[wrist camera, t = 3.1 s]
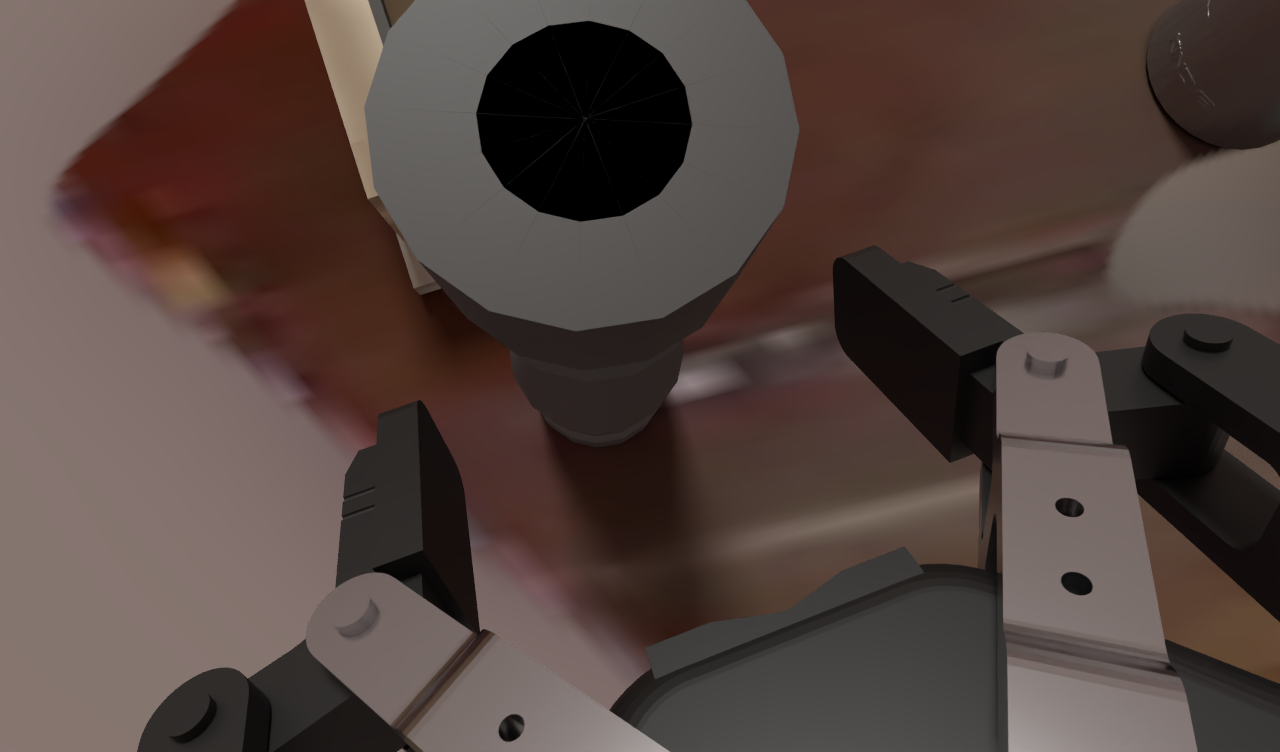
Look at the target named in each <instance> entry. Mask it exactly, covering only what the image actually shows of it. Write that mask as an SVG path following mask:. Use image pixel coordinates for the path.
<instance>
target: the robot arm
mask: <svg viewBox="0 0 1280 752" xmlns="http://www.w3.org/2000/svg"><path fill="white" fill-rule="evenodd" d="M1147 66H1148V73H1149V79H1150V82H1151V84H1152V87H1153V90H1154V93H1155V95H1156V97H1157V98H1158V100H1159V102H1160V103H1161V105H1162V106H1163V108H1164V110H1165V111H1166V112H1167V113H1168V114H1169V115H1170V116H1171V117H1172V119H1173V120H1174V121H1175V122H1176V123H1177V124H1178V125H1180V126H1181V127H1182V128H1183V129H1185V130H1186V131H1187V132H1189V133H1190V134H1191V135H1193V136H1195V137H1197V138H1199V139H1201V140H1203V141H1205V142H1207V143H1210V144H1213V145H1216V146H1220V147H1223V148H1230V149H1241V150H1244V149H1252V148H1260V147H1262V146H1265V145H1268V144H1271V143H1274V142H1276V141H1278V140H1280V0H1180V1H1179V2H1178V3H1177V4H1175V5H1174V6H1173V7H1172V8H1171V9H1170V10H1169V11H1168V12H1167V13H1166V14H1164V15H1163V16H1162V17H1161V19H1160V20H1159V22H1158V23H1157V25H1156V27H1155V28H1154V30H1153V32H1152V35H1151V38H1150V41H1149V44H1148V53H1147ZM833 288H834V313H835V329H836V334H837V337H838V340H839V342H840V345H841V347H842V349H843V350H844V352H845V353H846V355H847V356H848V357H849V358H850V359H851V360H852V361H853V362H854V363H855V364H856V365H857V366H858V367H859V369H860V370H861V371H862V372H863V373H864V374H865V375H866V376H867V377H868V378H869V379H870V380H871V381H872V382H873V383H874V384H875V385H876V386H877V387H878V388H879V389H880V390H881V391H882V393H883V394H884V395H885V396H886V397H887V398H888V399H889V400H890V401H891V402H892V403H893V404H894V405H895V406H896V407H897V408H898V409H899V410H900V411H901V412H902V413H903V414H904V416H905V417H906V418H907V419H908V420H909V421H910V422H911V423H912V424H913V425H914V426H915V427H916V428H917V429H918V430H919V431H920V432H921V433H922V434H923V435H924V436H925V437H926V438H927V440H928V441H929V442H930V443H931V444H932V445H933V446H934V447H935V448H936V449H937V450H938V451H939V452H940V453H941V454H942V455H943V456H944V457H945V458H946V459H947V460H948V461H949V462H950V463H951V462H954V461H956V460H959V459H962V458H964V457H967V456H969V455H972V454H975V455H976V456H977V457H978V458H979V459H980V460H981V461H982V463H981V470H980V494H979V544H978V567H977V568H974V567H968V566H963V565H952V564H923V565H918V563H917V562H916V561H915V560H914V558H913V557H912V556H911V554H910V553H909V552H908V550H907V549H906V548H905V547H902V548H899V549H897V550H894V551H891V552H889V553H886V554H884V555H881V556H879V557H876V558H874V559H871V560H868V561H866V562H863V563H861V564H858V565H856V566H853V567H850V568H848V569H845V570H843V571H841V572H840V573H839V574H837V575H836V576H834V577H833V578H832V579H830V580H829V581H828V582H826V583H825V584H823V585H822V586H821V587H819V588H818V589H817V590H815V591H814V592H812V593H811V594H810V595H808V596H807V597H806V598H804V599H803V600H801V601H800V602H799V603H797V604H796V605H795V606H793V607H792V608H790V609H788V610H786V611H784V612H780V613H774V614H767V615H760V616H752V617H745V618H738V619H730V620H723V621H716V622H710V623H707V624H705V625H702V626H700V627H697V628H694V629H692V630H689V631H687V632H684V633H682V634H679V635H677V636H674V637H671V638H669V639H666V640H664V641H661V642H659V643H656V644H654V645H651V646H648V647H646V648H645V650H646V653H647V656H648V659H649V662H650V665H651V669H650V670H649V671H647V672H646V673H645V674H643V675H642V676H641V677H639V678H638V679H637V680H636V681H635V682H634V683H633V684H632V685H631V686H630V687H629V688H627V689H626V690H625V692H624V693H623V694H622V695H621V696H620V697H619V698H618V700H617V701H616V702H615V703H614V705H613V706H612V707H611V709H610V710H607V709H606V708H604V707H603V706H602V705H600V704H599V703H597V702H596V701H594V700H593V699H591V698H590V697H588V696H587V695H585V694H584V693H582V692H581V691H579V690H578V689H576V688H575V687H574V686H572V685H571V684H569V683H568V682H566V681H565V680H563V679H562V678H560V677H559V676H557V675H556V674H554V673H553V672H551V671H550V670H548V669H547V668H545V667H544V666H542V665H541V664H540V663H538V662H536V661H535V660H534V659H532V658H531V657H529V656H528V655H526V654H525V653H523V652H522V651H520V650H519V649H517V648H516V647H514V646H513V645H511V644H510V643H508V642H507V641H505V640H504V639H503V638H501V637H499V636H498V635H496V634H495V633H492V632H491V631H488V630H485V629H483V630H482V631H481V632H480V628H479V619H478V610H477V601H476V592H475V584H474V574H473V565H472V556H471V547H470V538H469V529H468V521H467V512H466V503H465V494H464V488H463V483H462V479H461V476H460V473H459V470H458V468H457V465H456V463H455V461H454V459H453V457H452V455H451V453H450V451H449V449H448V447H447V445H446V444H445V442H444V440H443V438H442V436H441V434H440V432H439V430H438V429H437V427H436V425H435V423H434V421H433V419H432V417H431V415H430V414H429V412H428V410H427V408H426V406H425V405H424V404H423V402H422V401H420V400H418V401H415V402H413V403H410V404H407V405H404V406H401V407H398V408H395V409H392V410H389V411H386V412H383V413H380V414H379V415H378V420H377V445H374V446H371V447H368V448H365V449H362V450H359V451H358V453H357V455H356V456H355V458H354V460H353V462H352V464H351V465H350V467H349V469H348V471H347V473H346V474H345V484H344V496H343V497H344V500H345V501H344V502H343V507H342V517H343V520H342V521H341V530H340V542H339V553H338V565H337V576H336V588H335V589H334V590H333V591H332V592H330V593H329V594H328V595H327V596H326V597H325V598H324V599H323V600H322V602H321V603H320V604H319V605H318V607H317V608H316V609H315V611H314V613H313V614H312V616H311V619H310V621H309V623H308V626H307V630H306V639H305V640H304V641H302V642H301V643H300V644H299V645H297V646H296V647H295V648H293V649H292V650H291V651H289V652H288V653H286V654H285V655H283V656H282V657H280V658H278V659H277V660H275V661H274V662H272V663H271V664H269V665H268V666H266V667H265V668H263V669H262V670H260V671H259V672H257V673H256V674H254V675H253V676H251V677H250V678H248V679H247V678H246V677H245V676H244V675H243V674H242V673H241V672H240V671H238V670H235V669H232V668H217V669H212V670H209V671H206V672H203V673H201V674H199V675H197V676H195V677H193V678H192V679H190V680H188V681H187V682H185V683H184V684H182V685H181V686H180V687H179V688H178V689H176V690H175V691H174V692H173V693H171V694H170V695H169V696H168V697H167V698H166V699H165V700H164V702H163V703H162V704H161V705H160V706H159V707H158V708H157V710H156V711H155V712H154V714H153V715H152V717H151V718H150V720H149V721H148V723H147V725H146V727H145V729H144V731H143V733H142V736H141V739H140V743H139V746H138V750H137V752H397V751H398V750H400V749H401V748H402V749H403V750H404V751H405V752H1280V684H1278V683H1276V682H1273V681H1271V680H1268V679H1265V678H1263V677H1260V676H1258V675H1255V674H1253V673H1250V672H1248V671H1245V670H1243V669H1240V668H1237V667H1235V666H1232V665H1230V664H1227V663H1225V662H1222V661H1220V660H1217V659H1215V658H1212V657H1209V656H1207V655H1204V654H1202V653H1199V652H1197V651H1194V650H1192V649H1189V648H1187V647H1184V646H1181V645H1179V644H1176V643H1174V642H1171V641H1169V640H1166V639H1164V635H1163V629H1162V624H1161V619H1160V613H1159V608H1158V602H1157V597H1156V592H1155V586H1154V581H1153V575H1152V570H1151V565H1150V559H1149V554H1148V548H1147V543H1146V538H1145V532H1144V527H1143V521H1142V516H1141V511H1140V505H1139V500H1138V494H1139V495H1140V496H1141V497H1142V498H1143V499H1144V500H1145V501H1146V502H1147V503H1148V504H1150V505H1151V506H1152V507H1153V508H1154V509H1155V510H1156V511H1157V512H1158V513H1160V514H1161V515H1162V516H1163V517H1164V518H1165V519H1166V520H1167V521H1168V522H1169V523H1171V524H1172V525H1173V526H1174V527H1175V528H1176V529H1177V530H1178V531H1179V532H1181V533H1182V534H1183V535H1184V536H1185V537H1186V538H1187V539H1188V540H1189V541H1191V542H1192V543H1193V544H1194V545H1195V546H1196V547H1197V548H1198V549H1199V550H1200V551H1202V552H1203V553H1204V554H1205V555H1206V556H1207V557H1208V558H1209V559H1210V560H1212V561H1213V562H1214V563H1215V564H1216V565H1217V566H1218V567H1219V568H1220V569H1222V570H1223V571H1224V572H1225V573H1226V574H1227V575H1228V576H1229V577H1230V578H1231V579H1233V580H1234V581H1235V582H1236V583H1237V584H1238V585H1239V586H1240V587H1241V588H1243V589H1244V590H1245V591H1246V592H1247V593H1248V594H1249V595H1250V596H1251V597H1253V598H1254V599H1255V600H1256V601H1257V602H1258V603H1259V604H1260V605H1261V606H1262V607H1264V608H1265V609H1266V610H1267V611H1268V612H1269V613H1270V614H1271V615H1272V616H1274V617H1275V618H1276V619H1277V620H1278V621H1279V622H1280V490H1278V489H1277V488H1275V487H1274V486H1273V485H1271V484H1270V483H1269V482H1267V481H1266V480H1265V479H1263V478H1262V477H1261V476H1259V475H1258V474H1257V473H1255V472H1254V471H1253V470H1251V469H1250V468H1249V467H1247V466H1246V465H1245V464H1243V463H1242V462H1241V461H1239V460H1238V459H1237V458H1235V457H1234V456H1233V455H1231V454H1230V453H1229V452H1227V451H1226V450H1225V449H1224V447H1225V445H1226V443H1227V441H1228V438H1229V436H1232V437H1233V438H1234V439H1236V440H1237V441H1239V442H1240V443H1241V444H1243V445H1244V446H1246V447H1247V448H1248V449H1250V450H1251V451H1252V452H1254V453H1255V454H1257V455H1258V456H1259V457H1261V458H1262V459H1264V460H1265V461H1266V462H1267V463H1269V464H1270V465H1271V466H1272V467H1273V468H1274V469H1275V471H1276V472H1277V473H1278V475H1279V477H1280V345H1279V344H1277V343H1275V342H1274V341H1272V340H1270V339H1268V338H1267V337H1265V336H1263V335H1261V334H1260V333H1258V332H1256V331H1254V330H1253V329H1251V328H1249V327H1247V326H1245V325H1243V324H1241V323H1239V322H1236V321H1233V320H1230V319H1227V318H1223V317H1219V316H1214V315H1206V314H1181V315H1175V316H1171V317H1167V318H1165V319H1162V320H1160V321H1159V322H1157V323H1156V324H1155V325H1154V326H1153V327H1152V329H1151V330H1150V333H1149V337H1148V340H1147V343H1146V347H1138V348H1129V349H1121V350H1112V351H1103V352H1094V351H1093V350H1092V349H1091V348H1090V347H1089V346H1087V345H1086V344H1084V343H1082V342H1081V341H1079V340H1077V339H1074V338H1071V337H1069V336H1065V335H1061V334H1056V333H1047V332H1034V333H1026V334H1024V333H1023V332H1021V331H1020V330H1018V329H1017V328H1016V327H1014V326H1013V325H1011V324H1010V323H1009V322H1007V321H1006V320H1004V319H1003V318H1002V317H1000V316H999V315H997V314H996V313H995V312H993V311H992V310H990V309H989V308H988V307H986V306H985V305H983V304H982V303H981V302H979V301H978V300H976V299H975V298H974V297H972V298H970V296H969V294H968V293H967V292H965V291H964V290H962V289H961V288H960V287H958V286H956V287H955V286H954V283H953V282H951V281H950V280H948V279H947V278H946V277H944V276H943V275H941V274H940V273H939V272H937V271H936V270H934V269H931V268H928V267H924V266H921V265H918V264H915V263H912V262H909V261H908V262H905V263H902V264H901V263H899V262H898V261H897V260H895V259H894V258H893V257H891V256H890V255H889V254H887V253H886V252H885V251H883V250H882V249H881V248H879V247H877V246H871V247H868V248H865V249H862V250H860V251H857V252H854V253H851V254H848V255H845V256H842V257H839V258H837V259H836V260H835V261H834V264H833Z"/></svg>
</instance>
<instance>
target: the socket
mask: <svg viewBox="0 0 1280 752" xmlns="http://www.w3.org/2000/svg"><path fill="white" fill-rule="evenodd" d="M414 1H415V0H305V3H306V6H307V9H308V12H309V16H310V19H311V22H312V25H313V28H314V31H315V34H316V38H317V41H318V44H319V47H320V50H321V53H322V56H323V60H324V63H325V66H326V69H327V72H328V75H329V78H330V82H331V85H332V88H333V91H334V94H335V97H336V101H337V104H338V107H339V110H340V113H341V116H342V119H343V123H344V126H345V129H346V132H347V135H348V138H349V141H350V145H351V148H352V151H353V154H354V157H355V160H356V163H357V167H358V170H359V173H360V176H361V179H362V182H363V185H364V189H365V192H366V195H367V198H368V200H369V201H370V202H371V203H372V204H373V206H374V207H375V208H376V209H377V210H378V212H379V213H380V214H381V215H382V216H383V218H384V219H385V220H386V221H387V222H388V224H389V225H390V226H391V227H392V228H393V230H394V231H395V232H396V235H397V238H398V241H399V244H400V247H401V250H402V253H403V256H404V260H405V263H406V266H407V269H408V272H409V275H410V278H411V281H412V284H413V288H414V289H415V290H416V291H417V292H418V293H419V294H420V295H423V294H426V293H429V292H432V291H435V290H438V289H441V287H440V286H439V285H438V284H437V282H436V281H435V280H434V279H433V278H432V277H431V275H430V274H429V273H428V272H427V271H426V269H425V268H424V267H423V266H422V265H421V264H420V262H419V261H418V260H417V258H416V257H415V255H414V253H413V252H412V250H411V248H410V247H409V245H408V243H407V242H406V240H405V238H404V237H403V235H402V233H401V232H400V230H399V229H398V227H397V225H396V224H395V222H394V220H393V219H392V217H391V215H390V214H389V212H388V210H387V209H386V207H385V205H384V204H383V202H382V200H381V199H380V197H379V195H378V194H377V192H376V191H375V189H374V184H373V176H372V168H371V160H370V151H369V143H368V135H367V127H366V118H365V110H364V106H365V103H366V100H367V97H368V94H369V90H370V87H371V84H372V81H373V78H374V75H375V71H376V68H377V65H378V62H379V59H380V56H381V52H382V49H383V46H384V43H385V40H386V37H387V33H388V31H389V30H390V29H391V27H392V26H393V25H394V24H395V23H396V22H397V21H398V19H399V18H400V17H401V16H402V15H403V14H404V13H405V11H406V10H407V9H408V8H409V7H410V6H411V5H412V3H413V2H414Z"/></svg>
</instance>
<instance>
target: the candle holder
mask: <svg viewBox="0 0 1280 752" xmlns="http://www.w3.org/2000/svg"><path fill="white" fill-rule="evenodd" d="M364 110H365V118H366V127H367V135H368V143H369V151H370V160H371V168H372V176H373V184H374V189H375V191H376V192H377V194H378V195H379V197H380V199H381V200H382V202H383V204H384V205H385V207H386V209H387V210H388V212H389V214H390V215H391V217H392V219H393V220H394V222H395V224H396V225H397V227H398V229H399V230H400V232H401V233H402V235H403V237H404V238H405V240H406V242H407V243H408V245H409V247H410V248H411V250H412V252H413V253H414V255H415V257H416V258H417V260H418V261H419V262H420V264H421V265H422V266H423V267H424V268H425V269H426V271H427V272H428V273H429V274H430V275H431V277H432V278H433V279H434V280H435V281H436V282H437V284H438V285H439V286H440V287H441V288H442V290H443V291H444V292H445V293H446V294H447V296H448V297H449V298H450V299H451V300H452V301H453V303H454V304H455V305H456V306H457V307H458V309H459V310H460V311H461V312H462V313H463V314H464V316H465V317H466V318H467V319H468V320H470V321H471V322H473V323H474V324H475V325H477V326H478V327H480V328H481V329H482V330H484V331H485V332H487V333H488V334H489V335H491V336H492V337H494V338H495V339H496V340H498V341H499V342H501V343H502V344H503V345H504V346H505V347H507V348H508V349H510V355H511V362H512V369H513V376H514V377H515V379H516V381H517V382H518V384H519V386H520V387H521V389H522V391H523V392H524V394H525V395H526V397H527V399H528V400H529V402H530V404H531V405H532V406H533V407H534V408H535V409H537V410H538V411H540V412H541V414H542V416H543V417H544V419H545V421H546V422H547V423H548V424H549V425H550V426H551V427H552V428H553V429H555V430H556V431H557V432H559V433H560V434H562V435H563V436H564V437H566V438H567V439H569V440H570V441H571V442H574V443H578V444H583V445H587V446H591V447H596V448H598V447H604V446H610V445H616V444H622V443H623V442H625V441H626V440H628V439H630V438H631V437H633V436H634V435H636V434H638V433H639V432H641V431H642V430H643V429H644V428H645V427H646V425H647V424H648V423H649V421H650V420H651V418H652V417H653V416H654V414H655V413H656V411H657V410H658V408H659V407H660V406H661V404H662V403H663V401H664V399H665V398H666V396H667V395H668V394H669V392H670V391H671V389H672V388H673V387H674V385H675V384H676V382H677V380H678V375H679V371H680V366H681V362H682V357H683V353H684V343H683V339H684V338H685V337H687V336H689V335H690V334H692V333H694V332H695V331H697V330H699V329H700V328H702V327H703V325H704V324H705V322H706V321H707V320H708V318H709V317H710V315H711V314H712V313H713V311H714V310H715V308H716V307H717V306H718V304H719V303H720V301H721V300H722V299H723V297H724V296H725V294H726V293H727V292H728V290H729V289H730V287H731V286H732V285H733V283H734V282H735V280H736V279H737V278H738V276H739V275H740V273H741V272H742V270H743V269H744V267H745V265H746V264H747V262H748V261H749V259H750V258H751V256H752V255H753V253H754V252H755V250H756V249H757V247H758V246H759V244H760V243H761V241H762V239H763V238H764V236H765V235H766V233H767V232H768V230H769V229H770V227H771V226H772V224H773V223H774V221H775V220H776V218H777V217H778V215H779V214H780V212H781V210H782V209H783V207H784V203H785V198H786V193H787V188H788V183H789V178H790V174H791V169H792V164H793V159H794V154H795V149H796V144H797V140H798V135H799V126H798V121H797V116H796V112H795V107H794V102H793V98H792V93H791V88H790V84H789V79H788V75H787V70H786V65H785V61H784V56H783V53H782V52H781V50H780V49H779V47H778V46H777V44H776V43H775V42H774V40H773V39H772V37H771V36H770V34H769V33H768V32H767V30H766V29H765V27H764V26H763V24H762V23H761V21H760V20H759V19H758V17H757V16H756V14H755V13H754V11H753V10H752V8H751V7H750V6H749V4H748V3H747V1H746V0H415V1H414V2H413V3H412V5H411V6H410V7H409V8H408V9H407V10H406V11H405V13H404V14H403V15H402V16H401V17H400V18H399V19H398V21H397V22H396V23H395V24H394V25H393V26H392V27H391V29H390V30H389V31H388V33H387V37H386V40H385V43H384V46H383V49H382V52H381V56H380V59H379V62H378V65H377V68H376V71H375V75H374V78H373V81H372V84H371V87H370V90H369V94H368V97H367V100H366V103H365V106H364Z"/></svg>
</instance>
